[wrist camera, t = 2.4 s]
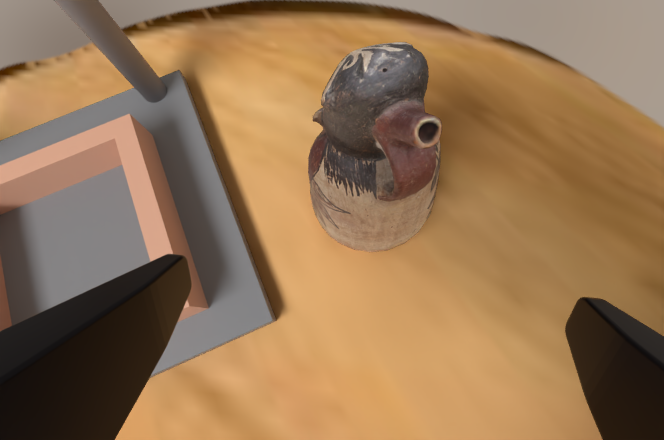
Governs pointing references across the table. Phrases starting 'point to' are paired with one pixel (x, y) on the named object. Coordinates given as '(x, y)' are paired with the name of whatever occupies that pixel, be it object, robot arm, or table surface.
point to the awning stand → (125, 204)
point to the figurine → (375, 149)
